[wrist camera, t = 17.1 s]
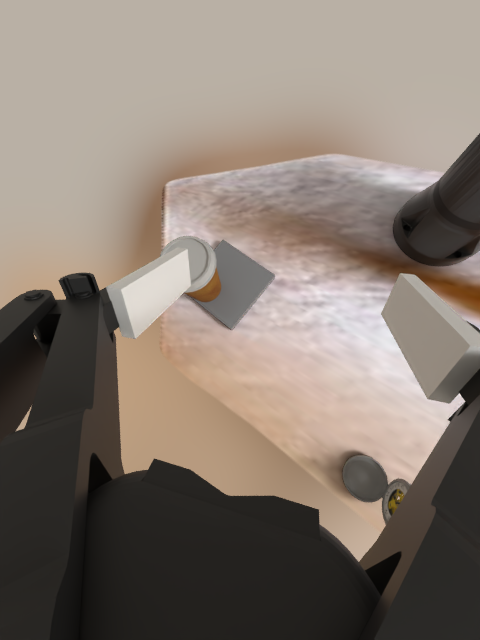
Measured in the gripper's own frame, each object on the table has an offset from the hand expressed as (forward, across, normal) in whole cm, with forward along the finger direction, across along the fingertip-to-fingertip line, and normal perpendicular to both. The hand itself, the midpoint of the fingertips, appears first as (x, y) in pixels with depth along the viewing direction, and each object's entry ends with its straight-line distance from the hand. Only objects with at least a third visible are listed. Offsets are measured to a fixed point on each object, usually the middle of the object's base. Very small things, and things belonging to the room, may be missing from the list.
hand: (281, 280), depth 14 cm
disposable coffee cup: (+26, -16, -15) cm, 33 cm away
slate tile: (+28, -12, -14) cm, 33 cm away
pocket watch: (+7, +19, -35) cm, 41 cm away
